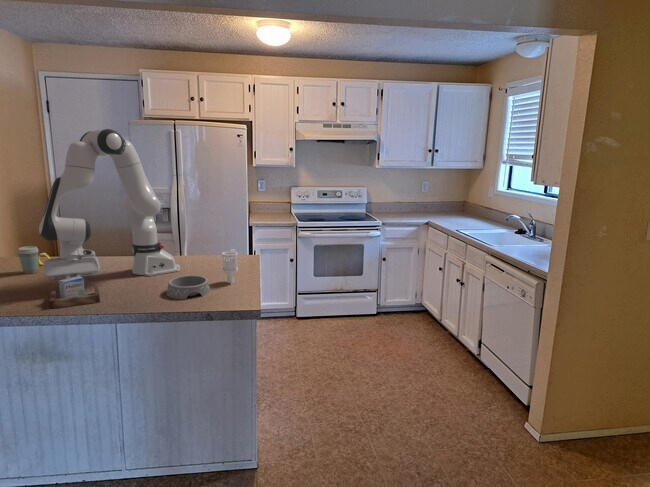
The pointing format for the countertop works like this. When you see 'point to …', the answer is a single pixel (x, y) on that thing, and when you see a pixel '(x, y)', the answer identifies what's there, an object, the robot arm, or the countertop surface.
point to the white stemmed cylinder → (230, 264)
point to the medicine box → (71, 287)
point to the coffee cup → (29, 259)
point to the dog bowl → (187, 286)
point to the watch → (42, 255)
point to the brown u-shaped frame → (74, 299)
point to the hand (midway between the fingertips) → (74, 285)
